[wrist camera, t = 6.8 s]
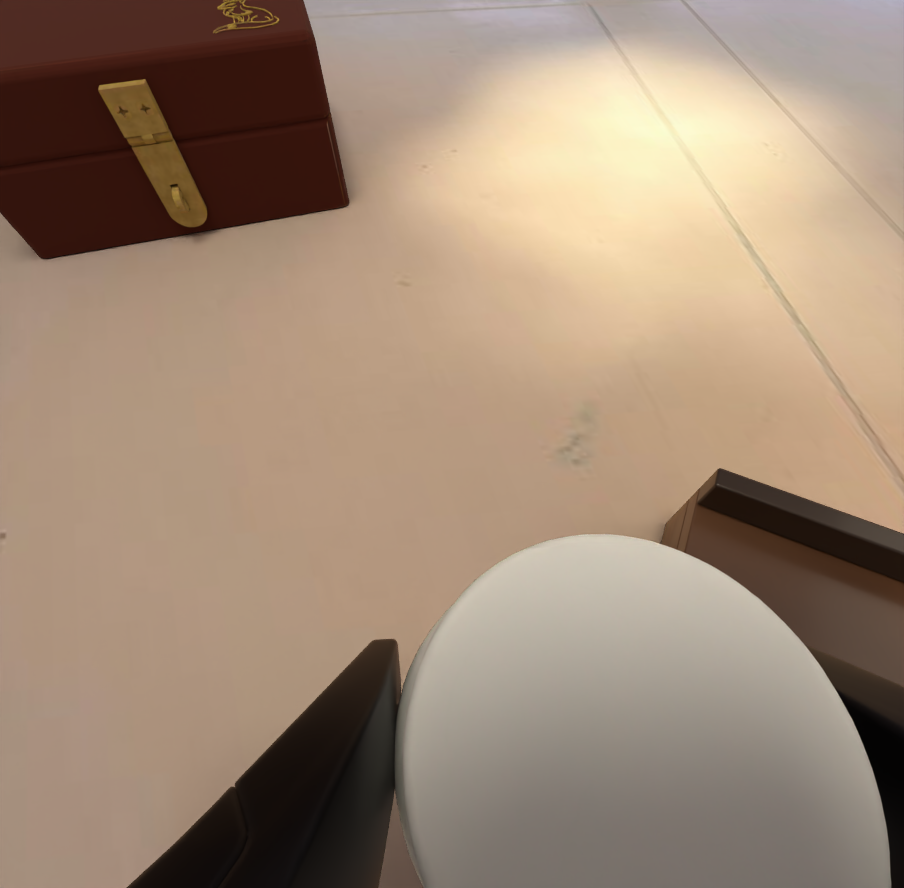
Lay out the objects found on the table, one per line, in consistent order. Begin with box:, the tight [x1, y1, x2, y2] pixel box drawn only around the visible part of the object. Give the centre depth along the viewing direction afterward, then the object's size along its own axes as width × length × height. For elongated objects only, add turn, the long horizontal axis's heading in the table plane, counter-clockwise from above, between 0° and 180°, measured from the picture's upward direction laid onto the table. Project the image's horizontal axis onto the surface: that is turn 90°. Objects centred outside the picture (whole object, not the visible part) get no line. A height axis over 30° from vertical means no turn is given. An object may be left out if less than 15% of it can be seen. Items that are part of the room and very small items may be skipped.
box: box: [0, 0, 349, 258], centre depth 32 cm, size 21×16×10 cm
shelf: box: [661, 468, 904, 686], centre depth 15 cm, size 10×14×5 cm
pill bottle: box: [394, 534, 891, 888], centre depth 9 cm, size 6×6×10 cm
